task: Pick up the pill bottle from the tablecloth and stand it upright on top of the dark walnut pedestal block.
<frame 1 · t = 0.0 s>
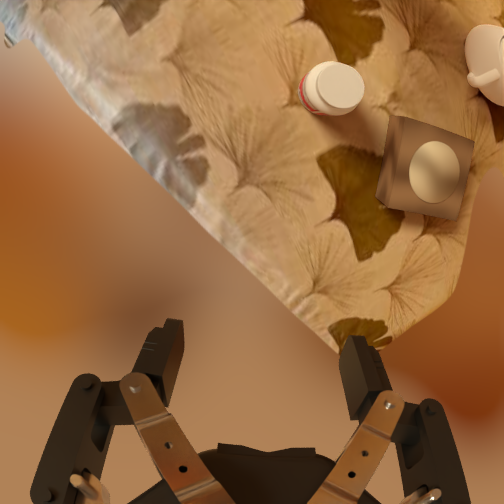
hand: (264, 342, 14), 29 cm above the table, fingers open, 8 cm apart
teapot: (488, 64, 28), on the table
pedestal: (418, 165, 37), on the table
pill bottle: (320, 92, 34), on the table
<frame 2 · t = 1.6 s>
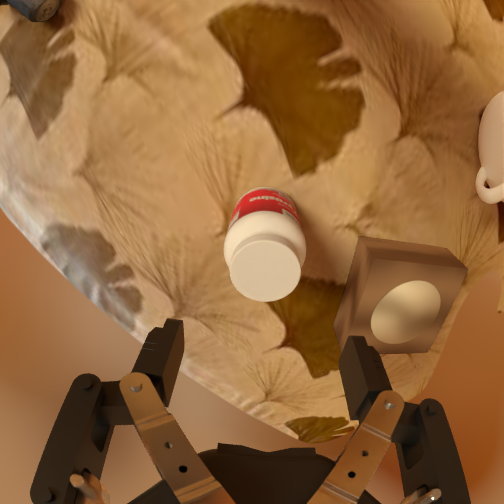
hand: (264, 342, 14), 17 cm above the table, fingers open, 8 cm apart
pedestal: (391, 288, 33), on the table
pill bottle: (265, 214, 30), on the table
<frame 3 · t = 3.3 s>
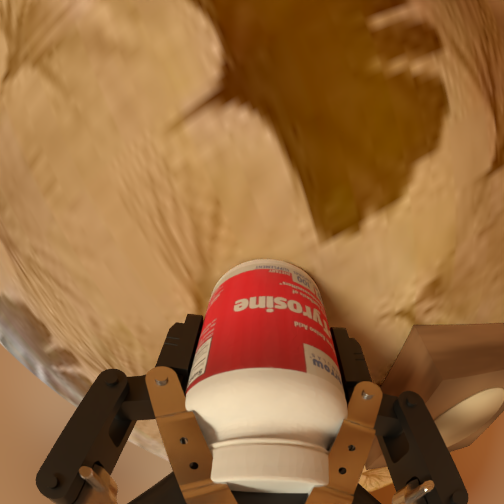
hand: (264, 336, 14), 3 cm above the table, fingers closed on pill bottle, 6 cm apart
pedestal: (440, 378, 20), on the table
pill bottle: (265, 301, 17), on the table, touching gripper
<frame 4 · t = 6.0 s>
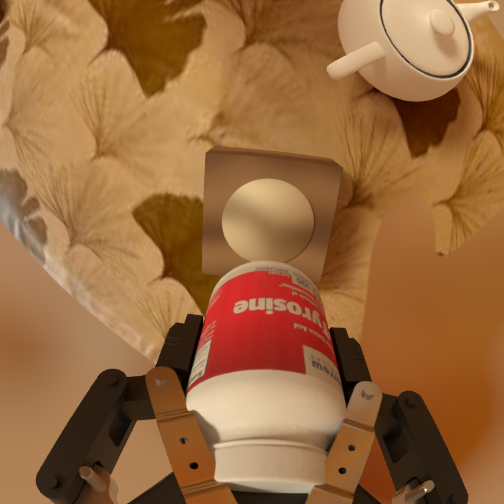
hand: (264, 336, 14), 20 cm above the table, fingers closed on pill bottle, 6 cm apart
teapot: (396, 40, 23), on the table
pedestal: (267, 206, 32), on the table
pill bottle: (265, 302, 17), point 17 cm above the table, touching gripper
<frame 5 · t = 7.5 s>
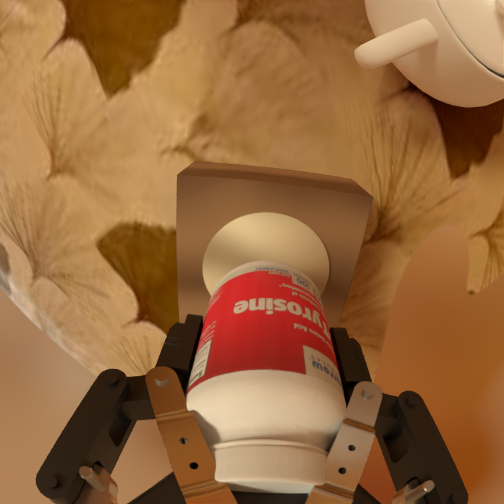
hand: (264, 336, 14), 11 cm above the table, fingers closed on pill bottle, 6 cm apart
teapot: (434, 27, 15), on the table
pedestal: (265, 241, 24), on the table
pill bottle: (265, 302, 17), point 8 cm above the table, touching gripper
when the fingers open (9 cm above the table, at t = 8.6 s): pill bottle stays where it is, resting on pedestal.
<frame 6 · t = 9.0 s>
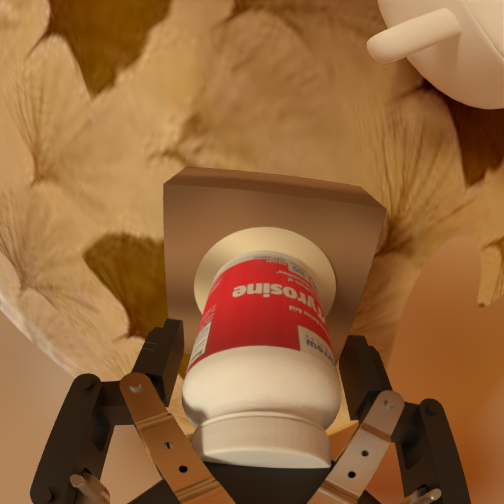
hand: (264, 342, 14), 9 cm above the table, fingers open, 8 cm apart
teapot: (448, 22, 13), on the table
pedestal: (265, 254, 22), on the table
pill bottle: (263, 292, 18), point 5 cm above the table, touching pedestal
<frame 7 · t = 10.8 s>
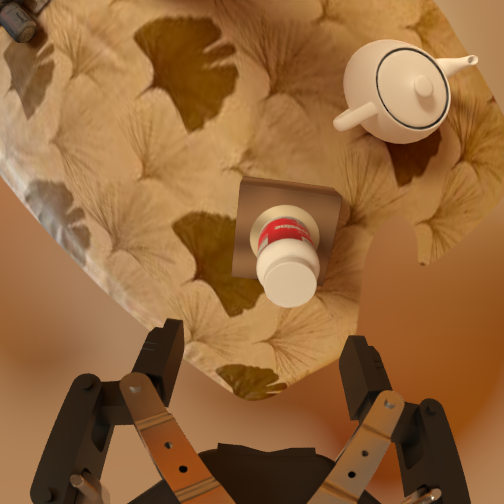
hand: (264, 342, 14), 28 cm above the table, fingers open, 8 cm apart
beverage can: (24, 21, 27), on the table
teapot: (390, 90, 32), on the table
pedestal: (282, 224, 41), on the table
pill bottle: (284, 237, 36), point 5 cm above the table, touching pedestal
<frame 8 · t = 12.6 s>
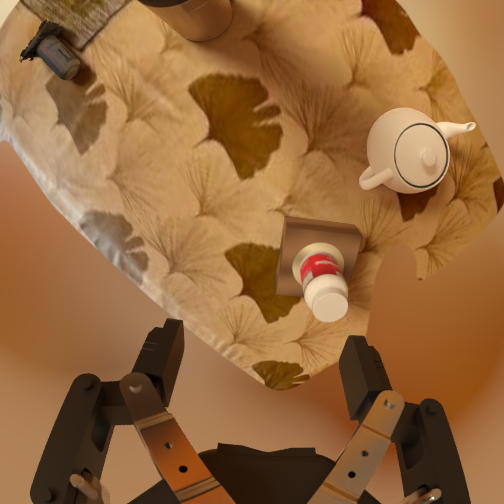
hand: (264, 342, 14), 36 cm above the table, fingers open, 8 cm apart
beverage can: (64, 55, 37), on the table
teapot: (401, 145, 43), on the table
pedestal: (314, 252, 52), on the table
pill bottle: (317, 266, 47), point 5 cm above the table, touching pedestal
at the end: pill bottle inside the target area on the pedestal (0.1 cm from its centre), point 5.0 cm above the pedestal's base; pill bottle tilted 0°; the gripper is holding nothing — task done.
